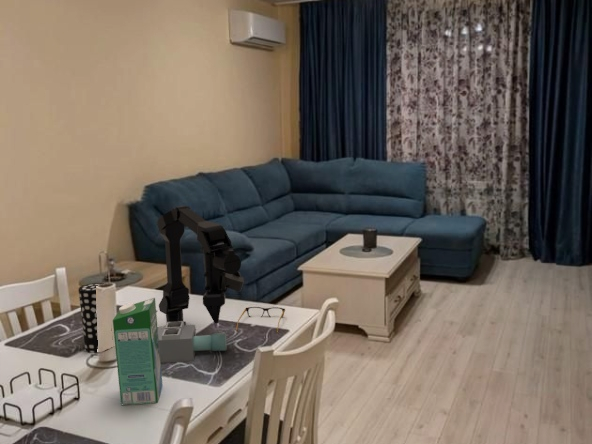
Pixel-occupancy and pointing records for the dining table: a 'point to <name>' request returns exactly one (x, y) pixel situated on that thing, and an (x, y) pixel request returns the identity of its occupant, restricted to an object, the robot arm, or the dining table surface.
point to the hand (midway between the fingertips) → (217, 317)
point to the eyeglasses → (263, 313)
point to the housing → (176, 343)
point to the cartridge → (210, 342)
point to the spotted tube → (89, 316)
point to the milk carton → (138, 353)
